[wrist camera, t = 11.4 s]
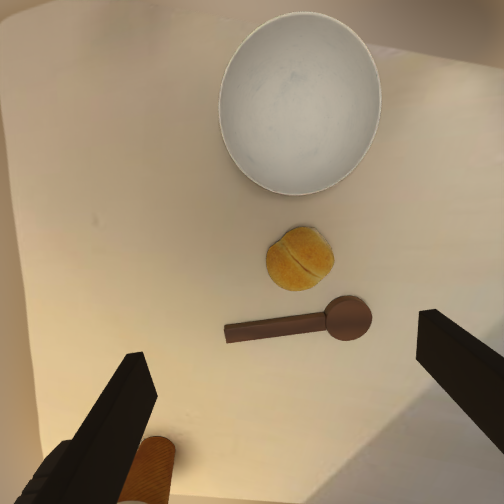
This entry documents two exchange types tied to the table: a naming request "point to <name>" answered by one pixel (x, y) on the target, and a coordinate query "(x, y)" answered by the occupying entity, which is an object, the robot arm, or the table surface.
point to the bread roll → (299, 259)
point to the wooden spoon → (309, 323)
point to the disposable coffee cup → (150, 473)
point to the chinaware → (299, 103)
